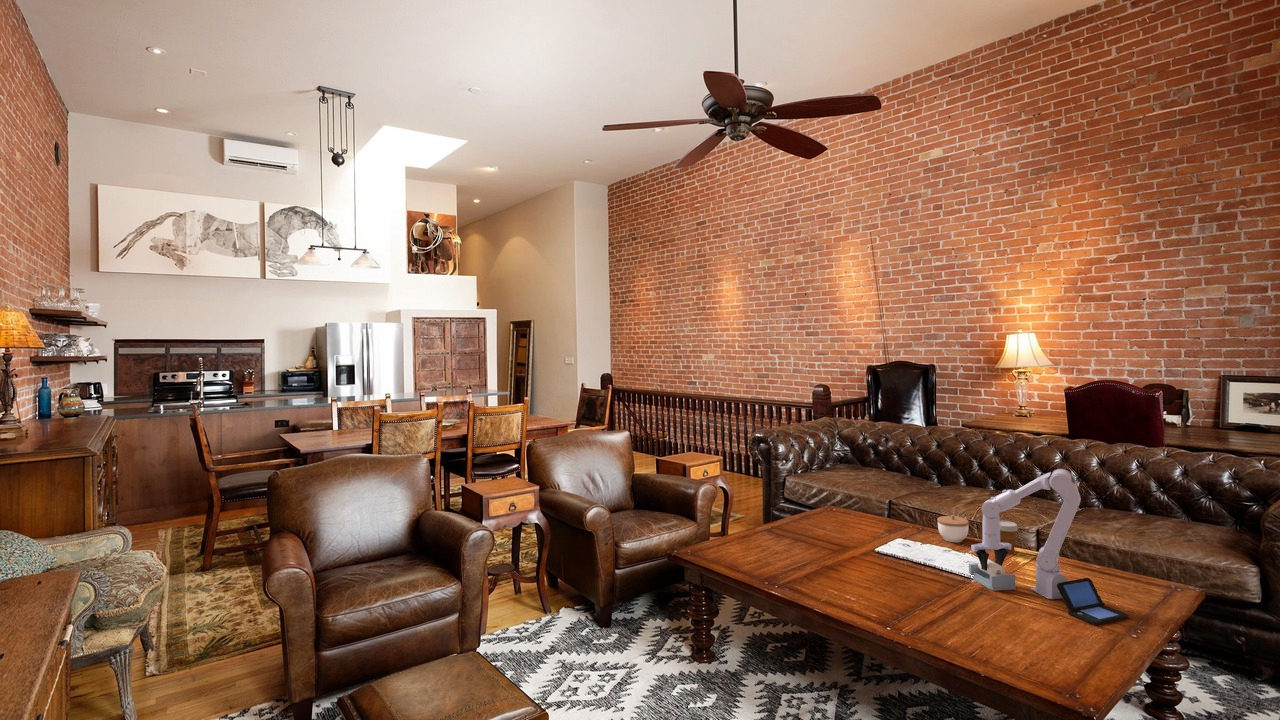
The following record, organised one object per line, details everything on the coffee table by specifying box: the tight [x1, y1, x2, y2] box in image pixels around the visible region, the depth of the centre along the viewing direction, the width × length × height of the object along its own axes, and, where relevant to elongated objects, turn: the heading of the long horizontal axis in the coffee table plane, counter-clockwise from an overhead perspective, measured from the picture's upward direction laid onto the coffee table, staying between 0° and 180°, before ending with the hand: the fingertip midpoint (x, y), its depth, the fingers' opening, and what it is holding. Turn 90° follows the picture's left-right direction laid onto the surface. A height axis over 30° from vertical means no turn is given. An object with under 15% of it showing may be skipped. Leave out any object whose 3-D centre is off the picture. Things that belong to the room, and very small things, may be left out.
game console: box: [1057, 577, 1129, 626], centre depth 209 cm, size 16×14×9 cm
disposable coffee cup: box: [1000, 520, 1019, 555], centre depth 269 cm, size 10×10×12 cm
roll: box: [977, 558, 1006, 575], centre depth 237 cm, size 8×5×5 cm, turn 6°
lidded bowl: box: [937, 514, 970, 543], centre depth 286 cm, size 13×13×11 cm
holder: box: [968, 562, 1017, 592], centre depth 237 cm, size 14×9×5 cm, turn 6°
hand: (991, 569), depth 237 cm, fingers closed on roll, 5 cm apart
